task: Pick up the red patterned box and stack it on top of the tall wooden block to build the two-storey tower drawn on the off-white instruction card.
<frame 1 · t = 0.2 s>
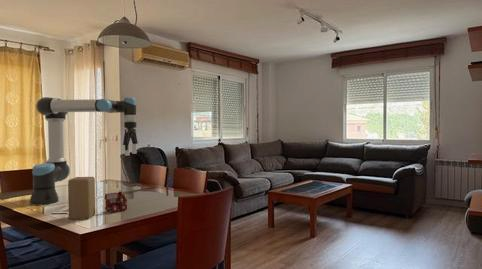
hand: (130, 154, 218), 28 cm above the table, tool pointing down, fingers open, 13 cm apart
red patterned box: (116, 211, 183), on the table
instruction card: (72, 209, 187), on the table
wooden block: (82, 217, 171), on the table
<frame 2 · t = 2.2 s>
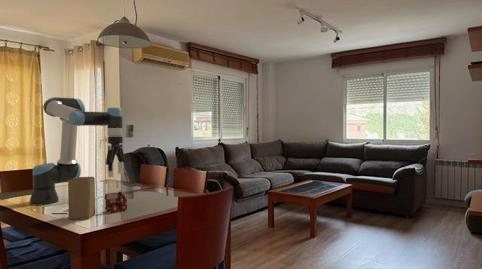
hand: (116, 175, 183), 19 cm above the table, tool pointing down, fingers open, 13 cm apart
nothing on the table moved.
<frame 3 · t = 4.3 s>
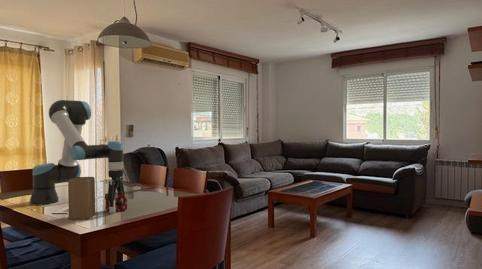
hand: (116, 209, 183), 1 cm above the table, tool pointing down, fingers closed on red patterned box, 11 cm apart
red patterned box: (116, 211, 183), on the table, touching gripper
everything else where it was.
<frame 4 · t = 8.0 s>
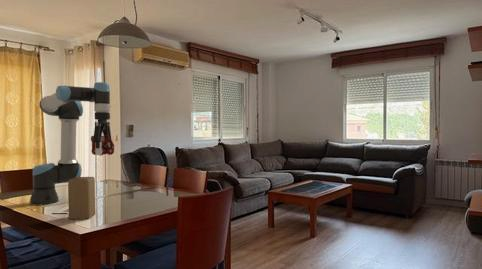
hand: (102, 153, 178), 32 cm above the table, tool pointing down, fingers closed on red patterned box, 11 cm apart
red patterned box: (103, 155, 178), point 31 cm above the table, touching gripper
everything else where it was.
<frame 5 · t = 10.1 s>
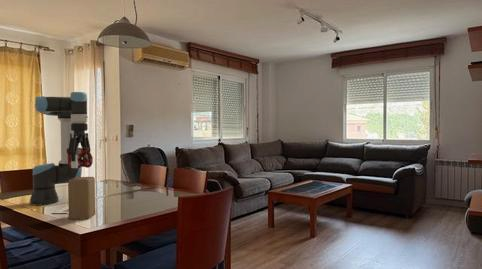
hand: (80, 166, 170), 26 cm above the table, tool pointing down, fingers closed on red patterned box, 11 cm apart
red patterned box: (80, 168, 170), point 25 cm above the table, touching gripper
everything else where it was.
when the fingers open (22 cm above the table, at t = 11.9 s): red patterned box drops 2 cm, resting on wooden block.
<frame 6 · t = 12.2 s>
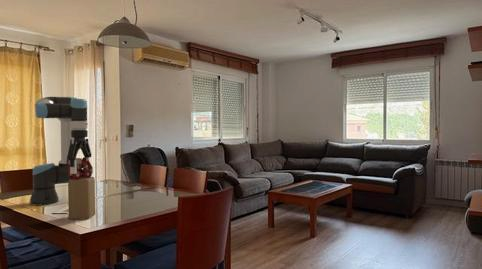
hand: (80, 171, 170), 23 cm above the table, tool pointing down, fingers open, 13 cm apart
red patterned box: (80, 178, 170), point 20 cm above the table, touching wooden block
wooden block: (82, 217, 171), on the table, touching red patterned box
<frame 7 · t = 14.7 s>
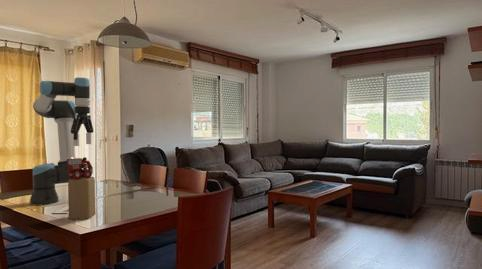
hand: (82, 145, 185), 36 cm above the table, tool pointing down, fingers open, 13 cm apart
nothing on the table moved.
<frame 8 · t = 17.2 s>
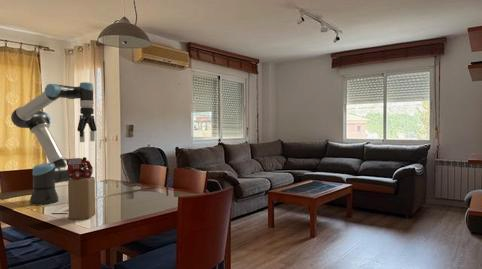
hand: (87, 141, 210), 37 cm above the table, tool pointing down, fingers open, 13 cm apart
nothing on the table moved.
at the end: red patterned box inside the target area on the wooden block (0.7 cm from its centre), point 20.0 cm above the wooden block's base; red patterned box tilted 0°; the gripper is holding nothing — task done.
